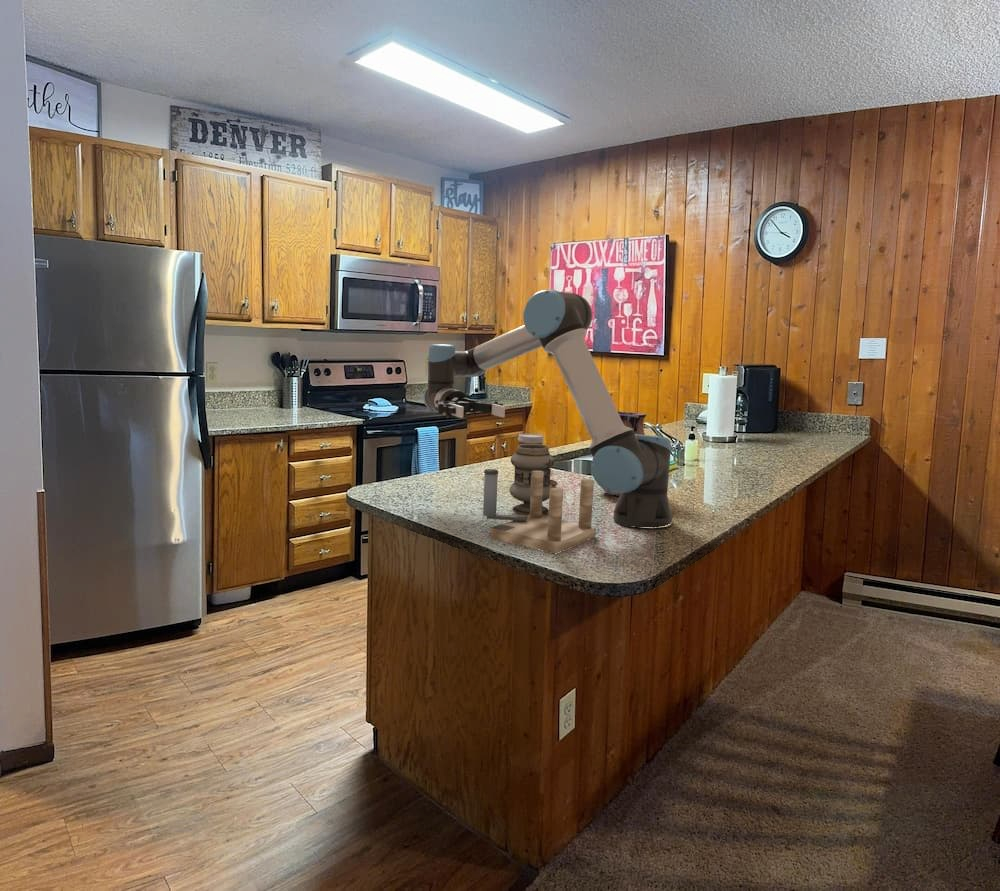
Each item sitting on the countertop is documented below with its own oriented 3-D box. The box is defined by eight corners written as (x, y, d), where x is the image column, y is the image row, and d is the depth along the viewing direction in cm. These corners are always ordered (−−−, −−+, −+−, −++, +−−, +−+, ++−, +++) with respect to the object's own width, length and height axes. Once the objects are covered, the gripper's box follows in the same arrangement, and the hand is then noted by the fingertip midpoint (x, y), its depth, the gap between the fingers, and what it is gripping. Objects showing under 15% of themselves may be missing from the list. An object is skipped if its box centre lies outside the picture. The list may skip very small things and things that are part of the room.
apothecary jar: (501, 506, 197) (504, 442, 194) (540, 504, 201) (543, 441, 198) (519, 517, 186) (522, 450, 183) (560, 514, 190) (564, 448, 188)
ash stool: (595, 537, 170) (599, 480, 168) (556, 554, 156) (559, 491, 154) (532, 523, 180) (535, 469, 178) (490, 538, 166) (492, 479, 164)
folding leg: (527, 518, 174) (529, 471, 172) (526, 522, 171) (528, 474, 169) (483, 515, 175) (485, 468, 173) (481, 519, 172) (483, 471, 170)
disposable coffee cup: (548, 468, 256) (549, 436, 254) (530, 471, 249) (532, 438, 247) (528, 464, 262) (529, 432, 260) (510, 467, 255) (512, 434, 253)
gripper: (489, 416, 200) (524, 426, 180) (411, 416, 191) (438, 428, 171) (490, 389, 199) (525, 397, 179) (412, 389, 190) (439, 397, 170)
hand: (483, 412), depth 175 cm, fingers open, 10 cm apart
